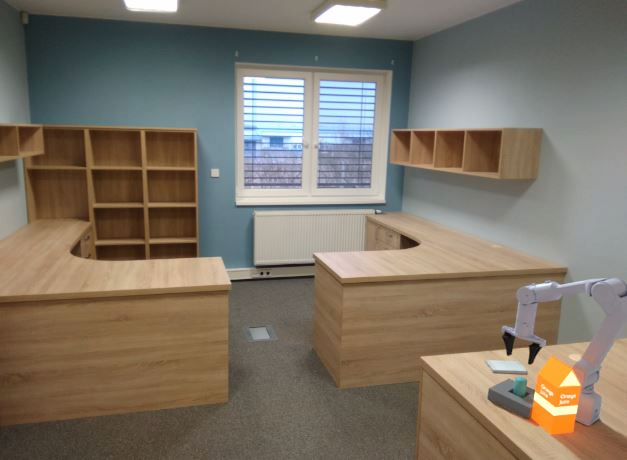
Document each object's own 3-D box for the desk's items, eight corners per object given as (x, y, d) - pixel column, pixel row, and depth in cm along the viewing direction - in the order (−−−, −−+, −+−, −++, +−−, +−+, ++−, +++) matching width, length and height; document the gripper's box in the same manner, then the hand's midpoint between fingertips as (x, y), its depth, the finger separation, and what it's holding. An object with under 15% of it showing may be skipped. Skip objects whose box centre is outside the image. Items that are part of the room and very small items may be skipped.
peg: (525, 403, 161) (529, 379, 159) (520, 406, 158) (524, 383, 157) (514, 398, 163) (518, 375, 162) (510, 402, 161) (513, 379, 159)
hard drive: (518, 360, 189) (485, 359, 189) (527, 371, 181) (493, 369, 181) (517, 364, 189) (484, 363, 189) (526, 375, 181) (492, 373, 181)
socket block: (548, 406, 159) (550, 396, 159) (528, 418, 152) (530, 408, 151) (507, 388, 170) (508, 378, 169) (487, 398, 162) (488, 388, 162)
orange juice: (550, 434, 144) (560, 369, 140) (530, 417, 153) (539, 355, 149) (573, 432, 146) (584, 368, 142) (552, 415, 155) (562, 354, 151)
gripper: (552, 325, 164) (546, 364, 167) (511, 311, 175) (506, 348, 178) (542, 330, 160) (536, 370, 163) (500, 315, 171) (495, 353, 173)
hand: (519, 359), depth 170 cm, fingers open, 7 cm apart
